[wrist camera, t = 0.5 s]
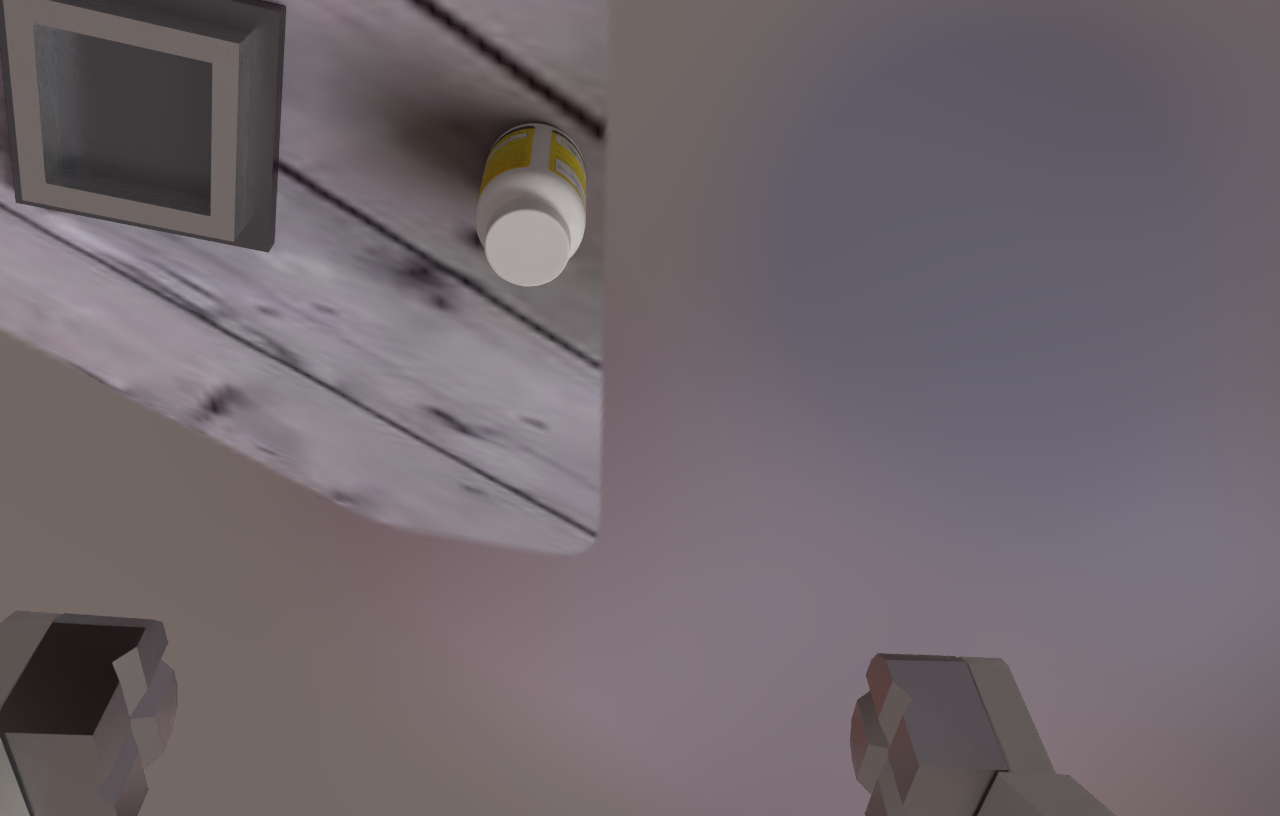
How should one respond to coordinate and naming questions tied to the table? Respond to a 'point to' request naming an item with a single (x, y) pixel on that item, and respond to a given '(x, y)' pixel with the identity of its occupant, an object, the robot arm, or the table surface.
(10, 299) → the table surface
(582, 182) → the supplement bottle
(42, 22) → the collar socket
